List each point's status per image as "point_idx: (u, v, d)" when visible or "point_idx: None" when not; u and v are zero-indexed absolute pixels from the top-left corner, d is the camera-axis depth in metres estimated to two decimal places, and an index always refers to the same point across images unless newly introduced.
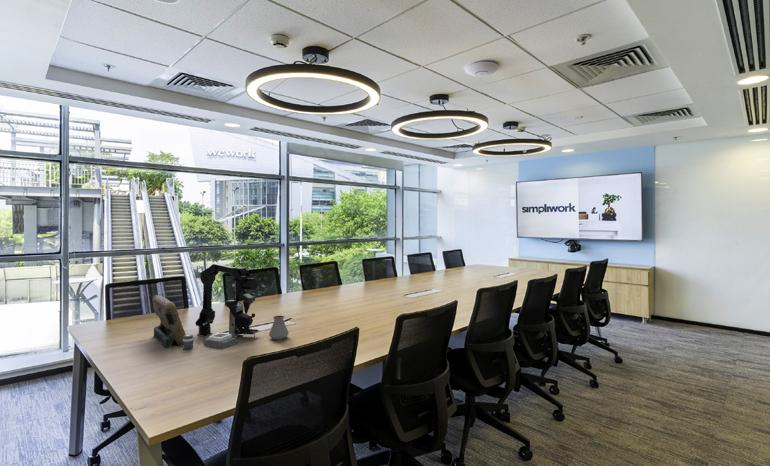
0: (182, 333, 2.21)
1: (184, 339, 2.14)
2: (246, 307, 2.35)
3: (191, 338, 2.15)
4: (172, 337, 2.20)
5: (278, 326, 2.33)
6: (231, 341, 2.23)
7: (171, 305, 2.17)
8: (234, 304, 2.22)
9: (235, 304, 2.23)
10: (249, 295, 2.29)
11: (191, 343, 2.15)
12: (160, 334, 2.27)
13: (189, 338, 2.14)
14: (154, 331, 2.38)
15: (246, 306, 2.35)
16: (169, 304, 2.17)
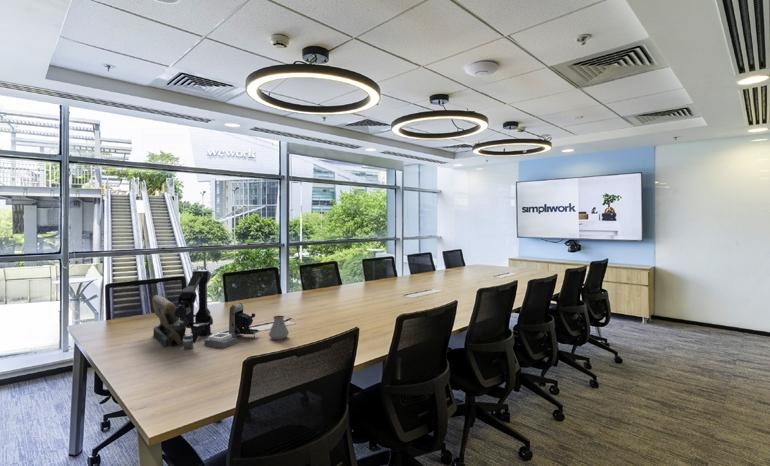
0: None
1: (184, 339, 2.14)
2: None
3: (191, 338, 2.15)
4: (172, 337, 2.20)
5: (278, 326, 2.33)
6: (231, 341, 2.23)
7: (171, 305, 2.17)
8: (172, 326, 2.16)
9: None
10: (179, 322, 2.10)
11: (191, 343, 2.15)
12: (160, 334, 2.27)
13: (189, 338, 2.14)
14: (154, 331, 2.38)
15: None
16: (169, 304, 2.17)
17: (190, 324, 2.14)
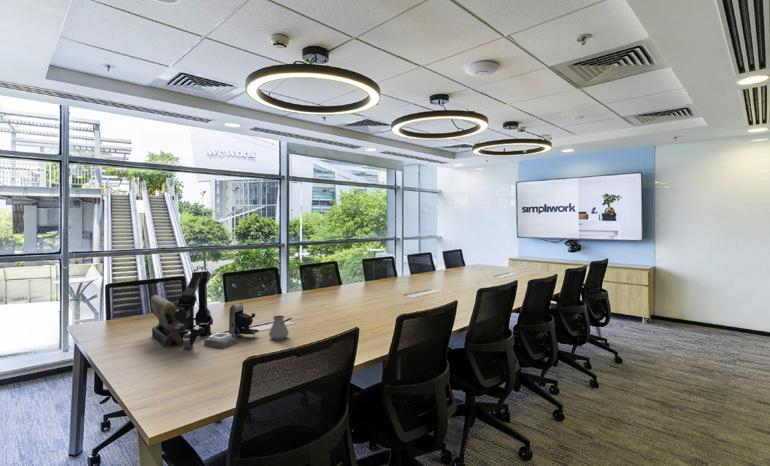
0: None
1: (184, 338, 2.14)
2: None
3: None
4: (172, 337, 2.20)
5: (278, 326, 2.33)
6: (231, 341, 2.23)
7: (171, 305, 2.17)
8: (172, 329, 2.16)
9: None
10: (179, 325, 2.10)
11: None
12: (159, 334, 2.27)
13: (189, 337, 2.14)
14: (152, 331, 2.37)
15: None
16: (169, 304, 2.17)
17: (190, 327, 2.14)
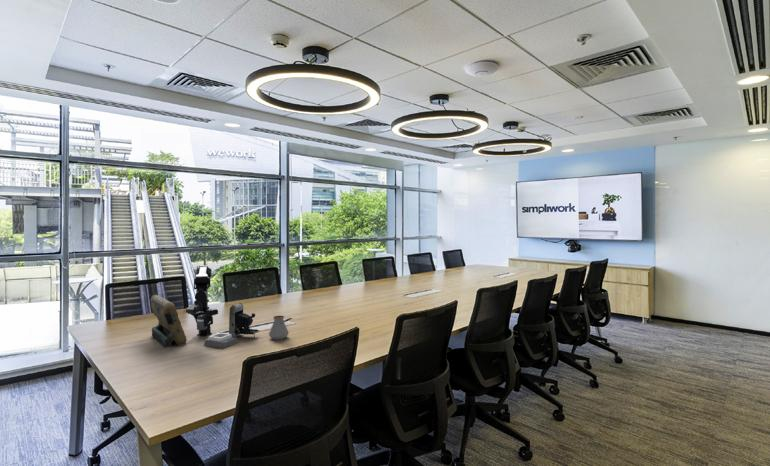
0: (181, 333, 2.21)
1: (198, 319, 2.17)
2: None
3: None
4: (171, 337, 2.20)
5: (278, 326, 2.33)
6: (231, 341, 2.23)
7: (170, 305, 2.17)
8: (187, 311, 2.19)
9: None
10: (193, 306, 2.13)
11: None
12: (159, 334, 2.27)
13: (203, 318, 2.17)
14: (152, 331, 2.37)
15: None
16: (168, 304, 2.17)
17: (204, 308, 2.17)
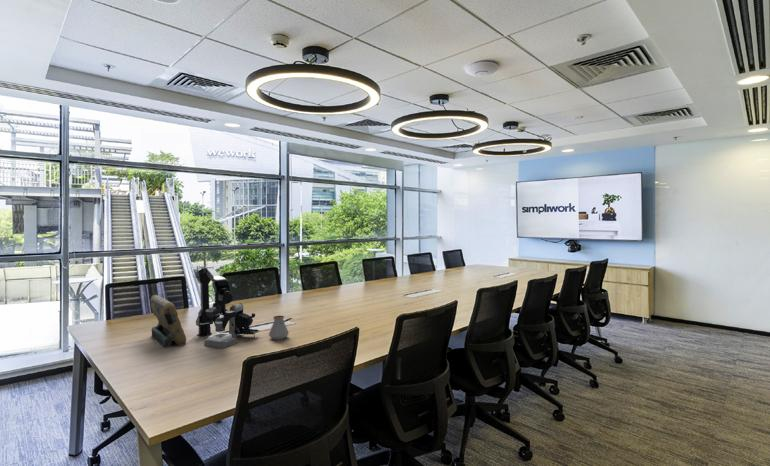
0: (181, 333, 2.21)
1: (217, 321, 2.22)
2: None
3: None
4: (171, 337, 2.20)
5: (278, 326, 2.33)
6: (231, 341, 2.23)
7: (170, 305, 2.17)
8: (205, 313, 2.24)
9: (206, 313, 2.24)
10: (212, 309, 2.18)
11: None
12: (159, 334, 2.26)
13: (221, 320, 2.22)
14: (152, 331, 2.37)
15: None
16: (168, 304, 2.17)
17: (222, 311, 2.22)
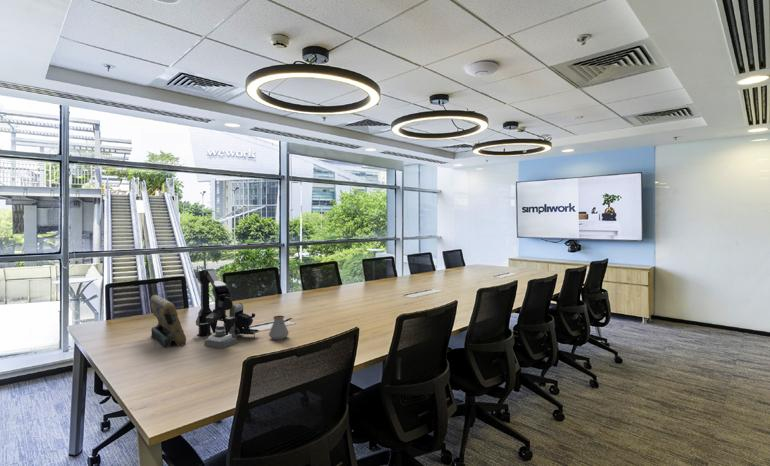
0: (181, 333, 2.21)
1: (217, 329, 2.22)
2: None
3: (223, 329, 2.23)
4: (171, 337, 2.20)
5: (278, 326, 2.33)
6: (231, 341, 2.23)
7: (170, 305, 2.17)
8: (205, 319, 2.24)
9: (206, 319, 2.24)
10: (213, 315, 2.18)
11: (223, 333, 2.23)
12: (158, 334, 2.26)
13: (221, 329, 2.22)
14: (152, 331, 2.37)
15: None
16: (168, 304, 2.17)
17: (222, 317, 2.22)
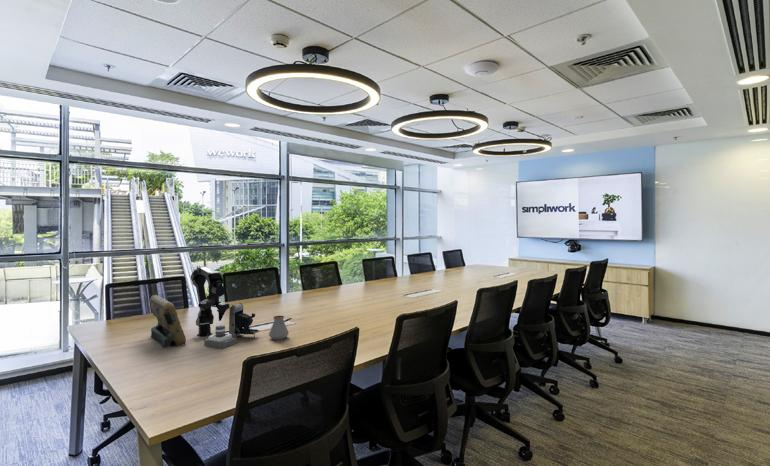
0: (181, 333, 2.21)
1: (217, 329, 2.22)
2: None
3: (223, 329, 2.23)
4: (171, 337, 2.20)
5: (278, 326, 2.33)
6: (231, 341, 2.23)
7: (170, 305, 2.17)
8: (199, 305, 2.31)
9: (200, 305, 2.31)
10: (206, 301, 2.25)
11: (223, 333, 2.23)
12: (158, 334, 2.26)
13: (221, 329, 2.22)
14: (151, 331, 2.37)
15: None
16: (168, 304, 2.17)
17: (216, 303, 2.29)
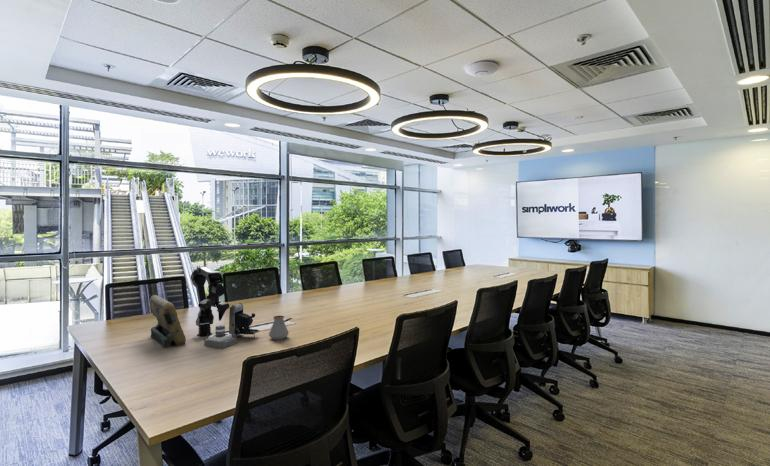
0: (181, 333, 2.21)
1: (217, 329, 2.22)
2: None
3: (223, 329, 2.23)
4: (171, 337, 2.20)
5: (278, 326, 2.33)
6: (231, 341, 2.23)
7: (170, 305, 2.17)
8: (199, 305, 2.31)
9: (200, 305, 2.31)
10: (206, 301, 2.25)
11: (223, 333, 2.23)
12: (158, 334, 2.26)
13: (221, 329, 2.22)
14: (151, 331, 2.37)
15: None
16: (168, 304, 2.17)
17: (216, 303, 2.29)
